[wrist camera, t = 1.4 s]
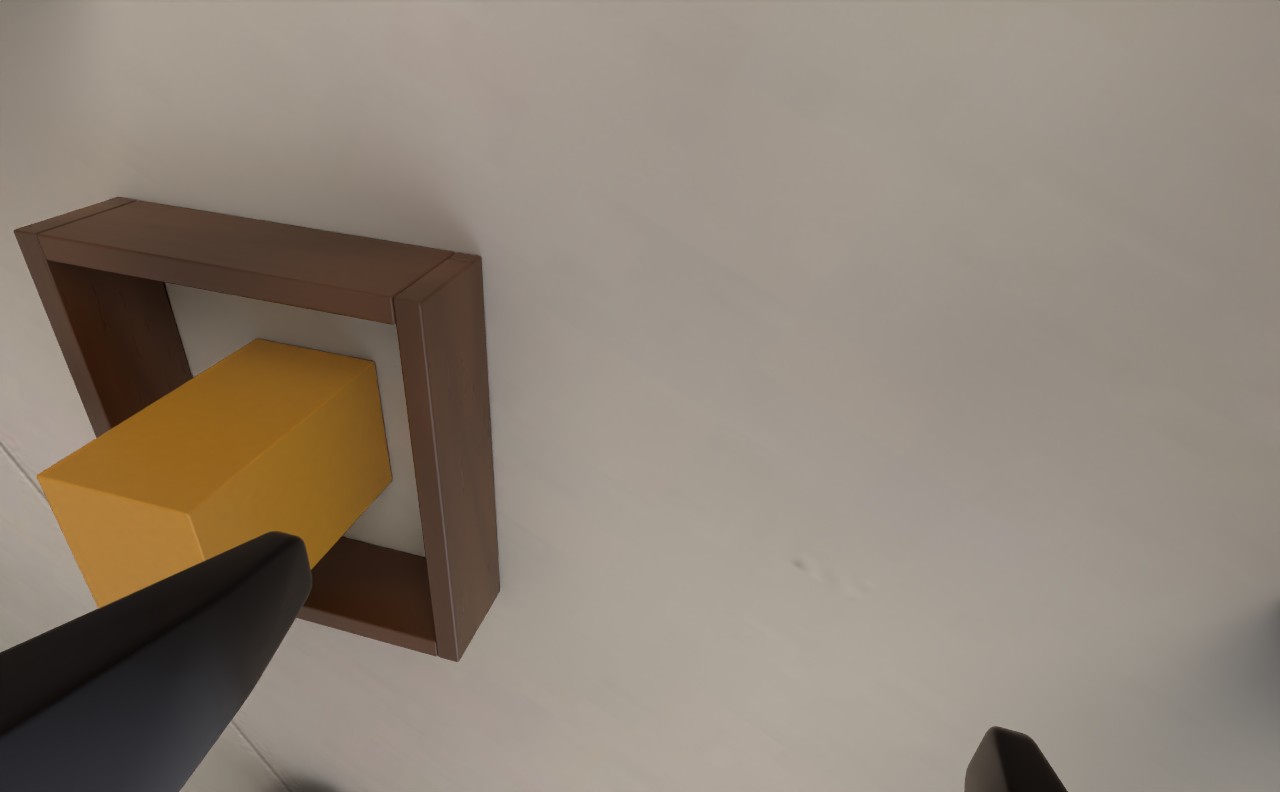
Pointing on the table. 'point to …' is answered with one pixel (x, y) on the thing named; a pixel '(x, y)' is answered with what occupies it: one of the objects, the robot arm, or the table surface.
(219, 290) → the brown wooden square frame
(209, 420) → the ochre block
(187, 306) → the table surface
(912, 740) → the table surface
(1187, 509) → the table surface
